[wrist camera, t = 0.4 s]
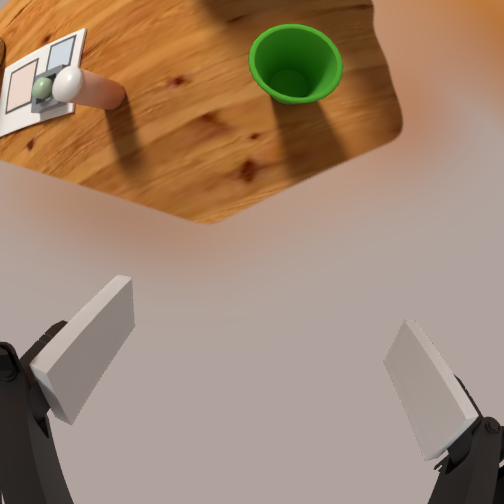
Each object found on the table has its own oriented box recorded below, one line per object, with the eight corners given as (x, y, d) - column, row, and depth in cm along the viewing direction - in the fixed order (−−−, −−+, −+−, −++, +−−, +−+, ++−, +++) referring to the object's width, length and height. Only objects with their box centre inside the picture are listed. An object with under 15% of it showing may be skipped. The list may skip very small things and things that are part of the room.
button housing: (43, 77, 29) (35, 75, 27) (71, 66, 29) (62, 64, 27) (39, 113, 32) (30, 113, 29) (66, 104, 31) (57, 103, 29)
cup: (302, 131, 33) (317, 120, 23) (240, 98, 32) (230, 75, 22) (333, 79, 30) (358, 52, 20) (273, 47, 29) (276, 10, 19)
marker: (103, 86, 31) (54, 71, 20) (128, 81, 31) (81, 61, 20) (101, 112, 33) (50, 105, 21) (125, 108, 33) (77, 96, 21)
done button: (42, 82, 28) (33, 80, 26) (56, 76, 28) (47, 74, 26) (39, 101, 29) (30, 100, 27) (53, 96, 29) (44, 95, 27)
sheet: (7, 68, 28) (5, 68, 27) (87, 29, 27) (84, 27, 26) (-2, 137, 33) (-4, 137, 33) (74, 111, 32) (71, 111, 32)
